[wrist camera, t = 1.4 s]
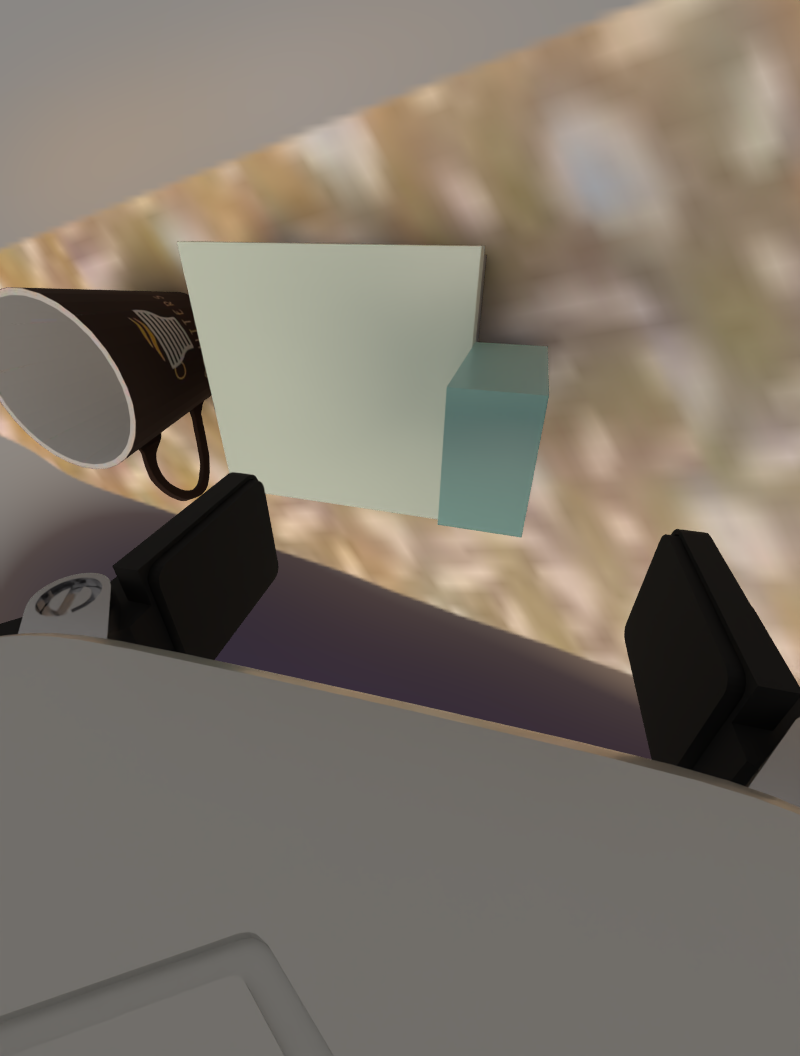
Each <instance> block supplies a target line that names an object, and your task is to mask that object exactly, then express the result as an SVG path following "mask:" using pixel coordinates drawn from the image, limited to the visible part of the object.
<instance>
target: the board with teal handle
mask: <svg viewBox="0 0 800 1056" xmlns="http://www.w3.org/2000/svg"><path fill="white" fill-rule="evenodd" d="M177 245H178V249H179V254H180V258H181V263H182V267H183V271H184V276H185V280H186V285H187V289H188V293H189V298H190V302H191V306H192V311H193V315H194V320H195V324H196V328H197V333H198V337H199V342H200V346H201V350H202V355H203V359H204V364H205V368H206V372H207V377H208V381H209V386H210V390H211V394H212V399H213V403H214V407H215V412H216V416H217V421H218V425H219V429H220V434H221V438H222V443H223V447H224V451H225V456H226V460H227V465H228V469H229V473H231V472H236V473H244V474H252V475H255V476H256V477H257V479H258V481H260V482H262V483H263V485H264V489H265V493H266V494H272V495H279V496H286V497H292V498H299V499H306V500H312V501H319V502H326V503H332V504H339V505H346V506H352V507H359V508H365V509H372V510H379V511H385V512H392V513H399V514H405V515H412V516H419V517H425V518H432V519H438V525H444V526H450V527H457V528H463V529H470V530H476V531H483V532H490V533H496V534H503V535H509V536H516V537H522V532H523V527H524V521H525V516H526V511H527V506H528V501H529V496H530V490H531V485H532V480H533V475H534V470H535V465H536V459H537V454H538V449H539V444H540V439H541V434H542V429H543V423H544V418H545V413H546V408H547V403H548V398H549V379H548V346H533V345H517V344H501V343H484V342H476V334H477V323H478V313H479V302H480V292H481V281H482V271H483V261H484V250H485V246H466V245H401V244H335V243H270V242H204V241H188V242H177Z"/></svg>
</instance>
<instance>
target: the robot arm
mask: <svg viewBox="0 0 800 1056" xmlns="http://www.w3.org/2000/svg"><path fill="white" fill-rule="evenodd" d="M113 568H114V570H115V573H116V575H117V577H116V578H115V579H113V580H112V581H111V582H110V580H109V579H108V578H107V577H106V576H104V575H101V574H97V573H83V574H77V575H72V576H69V577H66V578H62V579H60V580H57V581H55V582H53V583H51V584H49V585H47V586H46V587H44V588H43V589H41V590H40V591H38V592H37V593H36V594H35V595H34V596H33V597H32V598H31V599H30V600H29V602H28V604H27V606H26V608H25V611H24V615H23V617H21V618H18V619H15V620H11V621H8V622H5V623H2V624H0V1056H800V687H799V685H798V683H797V681H796V680H795V678H794V676H793V675H792V673H791V671H790V670H789V668H788V666H787V664H786V663H785V661H784V659H783V658H782V656H781V654H780V653H779V651H778V649H777V647H776V646H775V644H774V642H773V641H772V639H771V637H770V635H769V634H768V632H767V630H766V629H765V627H764V625H763V624H762V622H761V620H760V618H759V617H758V615H757V613H756V612H755V610H754V608H753V607H752V606H751V605H750V603H749V601H748V600H747V598H746V596H745V594H744V593H743V591H742V589H741V588H740V586H739V584H738V582H737V581H736V579H735V577H734V576H733V574H732V572H731V571H730V569H729V567H728V565H727V564H726V562H725V560H724V559H723V557H722V555H721V553H720V552H719V550H718V548H717V547H716V545H715V543H714V541H713V540H712V538H711V536H710V535H709V534H708V533H704V532H696V531H688V530H680V529H676V530H674V531H673V533H672V534H671V535H666V534H665V535H663V536H662V538H661V540H660V542H659V544H658V547H657V549H656V552H655V554H654V557H653V559H652V561H651V564H650V566H649V569H648V571H647V574H646V576H645V579H644V581H643V584H642V586H641V589H640V591H639V593H638V596H637V598H636V601H635V603H634V606H633V608H632V611H631V613H630V616H629V618H628V620H627V623H626V626H625V633H624V637H625V643H626V648H627V652H628V657H629V661H630V665H631V670H632V674H633V679H634V683H635V688H636V692H637V696H638V701H639V705H640V710H641V714H642V718H643V723H644V727H645V732H646V736H647V741H648V745H649V749H650V754H651V758H652V760H651V759H647V758H643V757H639V756H634V755H630V754H626V753H622V752H618V751H614V750H610V749H606V748H601V747H597V746H594V745H589V744H585V743H581V742H577V741H573V740H568V739H564V738H559V737H555V736H551V735H547V734H542V733H538V732H534V731H529V730H525V729H520V728H516V727H512V726H507V725H503V724H498V723H494V722H489V721H485V720H481V719H476V718H472V717H468V716H464V715H459V714H455V713H450V712H446V711H442V710H437V709H433V708H428V707H423V706H419V705H415V704H411V703H406V702H402V701H397V700H392V699H388V698H384V697H379V696H375V695H370V694H366V693H361V692H357V691H352V690H348V689H343V688H339V687H334V686H330V685H325V684H320V683H316V682H312V681H307V680H303V679H298V678H294V677H289V676H285V675H280V674H275V673H271V672H266V671H261V670H257V669H252V668H248V667H243V666H238V665H234V664H229V663H225V662H220V661H216V660H215V658H216V657H217V656H218V654H219V653H220V651H221V650H222V649H223V648H224V646H225V645H226V643H227V642H228V641H229V640H230V638H231V637H232V635H233V634H234V632H235V631H236V630H237V628H238V627H239V626H240V625H241V623H242V622H243V621H244V619H245V618H246V617H247V615H248V614H249V613H250V611H251V610H252V609H253V607H254V606H255V605H256V603H257V602H258V601H259V599H260V598H261V597H262V595H263V594H264V593H265V591H266V590H267V589H268V587H269V586H270V585H271V583H272V582H273V580H274V579H275V577H276V575H277V573H278V560H277V555H276V549H275V544H274V538H273V533H272V528H271V522H270V517H269V511H268V506H267V500H266V495H265V489H264V485H263V483H262V482H260V481H258V479H257V477H256V476H255V475H252V474H244V473H236V472H231V473H229V474H228V475H226V476H225V477H224V478H223V479H221V480H220V481H219V482H218V483H216V484H215V485H214V486H213V487H211V488H210V489H209V490H208V491H206V492H205V493H204V494H203V495H201V496H200V497H199V498H197V499H196V500H195V501H194V502H192V503H191V504H190V505H189V506H187V507H186V508H185V509H184V510H182V511H181V512H180V513H179V514H177V515H176V516H175V517H174V518H172V519H171V520H170V521H168V522H167V523H166V524H165V525H163V526H162V527H161V528H160V529H159V530H157V531H156V532H155V533H154V534H152V535H151V536H150V537H148V538H147V539H146V540H145V541H143V542H142V543H141V544H140V545H138V546H137V547H136V548H134V549H133V550H132V551H131V552H129V553H128V554H127V555H126V556H124V557H123V558H122V559H121V560H119V561H118V562H117V563H116V564H114V565H113Z"/></svg>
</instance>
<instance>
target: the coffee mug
mask: <svg viewBox="0 0 800 1056" xmlns="http://www.w3.org/2000/svg"><path fill="white" fill-rule="evenodd" d="M211 395H212V394H211V390H210V386H209V381H208V377H207V372H206V368H205V364H204V359H203V355H202V350H201V346H200V342H199V337H198V333H197V328H196V324H195V320H194V315H193V311H192V306H191V302H190V298H189V295H187V294H184V293H181V292H152V291H117V290H82V289H48V288H13V287H6V288H3V289H0V402H1V403H2V405H3V406H4V407H5V409H6V410H7V411H8V413H9V414H10V415H11V416H12V418H13V419H14V420H15V421H16V422H17V423H18V424H19V425H20V427H21V428H22V429H23V430H24V431H25V432H26V433H27V434H28V435H29V436H31V437H32V438H33V439H34V440H35V441H36V442H38V443H39V444H40V445H41V446H43V447H44V448H45V449H47V450H48V451H50V452H51V453H53V454H54V455H56V456H58V457H60V458H62V459H64V460H66V461H67V462H69V463H72V464H75V465H78V466H81V467H85V468H91V469H106V468H110V467H113V466H116V465H118V464H119V463H121V462H122V461H123V460H125V459H126V458H127V457H129V456H130V455H131V454H133V453H134V452H135V451H137V450H138V449H139V451H140V452H141V454H142V457H143V461H144V464H145V467H146V470H147V472H148V475H149V477H150V479H151V481H152V482H153V483H154V484H155V485H156V486H157V487H158V488H159V489H160V490H161V491H163V492H164V493H165V494H167V495H168V496H170V497H172V498H174V499H177V500H180V501H187V500H190V499H193V498H196V497H198V496H200V495H202V494H203V493H204V491H205V490H206V488H207V486H208V481H209V474H210V463H209V452H208V446H207V441H206V435H205V431H204V426H203V421H202V416H201V411H202V405H203V402H204V400H206V399H207V398H208V397H210V396H211ZM188 412H190V414H191V417H192V421H193V427H194V432H195V437H196V441H197V447H198V452H199V458H200V473H199V480H198V484H197V486H196V487H195V488H194V489H193V490H190V491H185V490H181V489H179V488H177V487H175V486H173V485H172V484H170V483H169V482H168V481H167V480H166V479H165V478H164V476H163V475H162V473H161V472H160V469H159V467H158V465H157V460H156V452H157V448H158V446H159V443H160V440H161V432H162V431H164V430H165V429H166V428H168V427H169V426H171V425H172V424H173V423H175V422H176V421H177V420H179V419H180V418H181V417H183V416H184V415H185V414H187V413H188Z"/></svg>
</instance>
